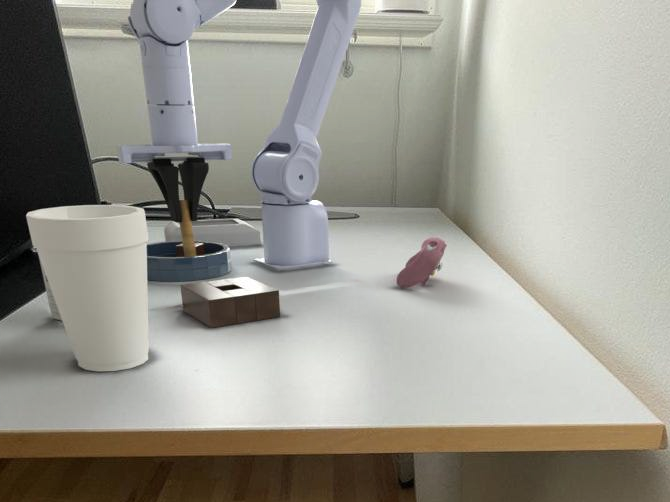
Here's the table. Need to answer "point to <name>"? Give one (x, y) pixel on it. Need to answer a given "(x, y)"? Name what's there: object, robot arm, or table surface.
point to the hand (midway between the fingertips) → (184, 221)
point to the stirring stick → (187, 230)
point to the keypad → (217, 232)
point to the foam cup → (97, 280)
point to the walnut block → (198, 247)
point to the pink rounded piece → (422, 263)
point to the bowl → (186, 262)
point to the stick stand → (230, 301)
